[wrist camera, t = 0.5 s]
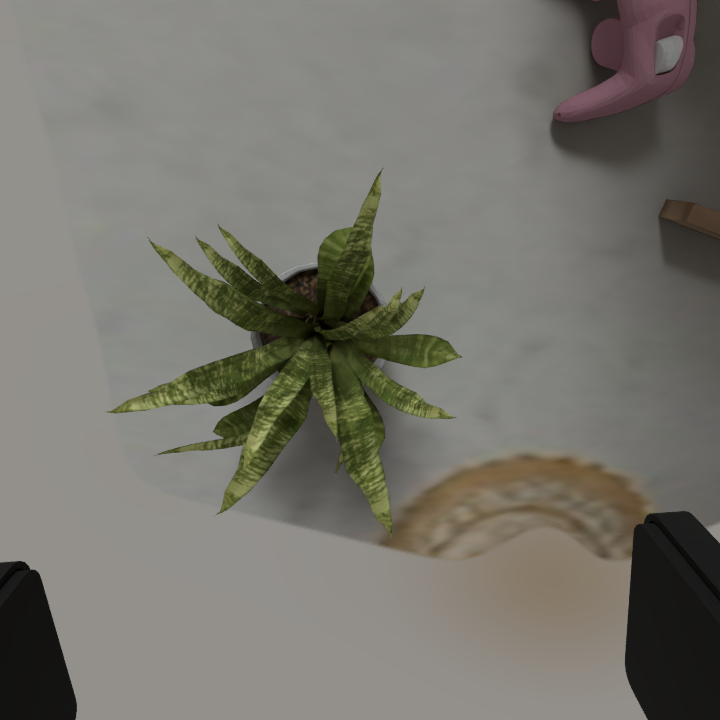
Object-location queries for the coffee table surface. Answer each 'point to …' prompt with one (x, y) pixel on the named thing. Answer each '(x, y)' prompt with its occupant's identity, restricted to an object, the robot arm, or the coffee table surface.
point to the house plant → (305, 356)
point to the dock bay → (692, 217)
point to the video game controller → (637, 57)
